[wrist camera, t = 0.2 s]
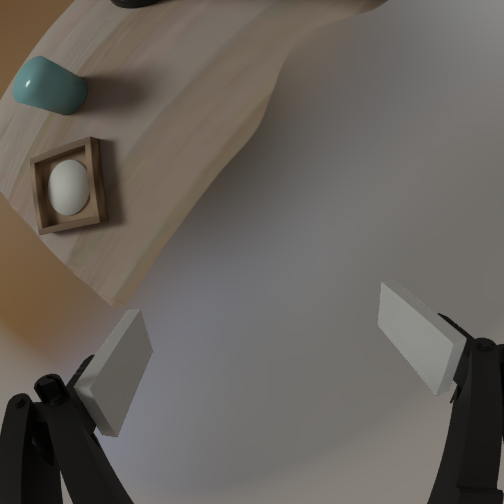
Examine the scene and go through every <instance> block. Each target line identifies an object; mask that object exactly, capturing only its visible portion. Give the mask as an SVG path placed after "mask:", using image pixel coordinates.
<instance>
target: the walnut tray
mask: <svg viewBox="0 0 504 504" xmlns="http://www.w3.org/2000/svg"><path fill="white" fill-rule="evenodd" d="M65 160H76V161H78V162H80V163H81V164H82V165H84V167H85V168H86V170H87V174H88V183H89V191H90V195H89V198H88V201H87V203H86V204H85V206H84V207H83V208H82V209H81V210H80V211H79V212H78V213H76V214H73V215H62V214H60V213H58V212H57V211H56V210H55V209H54V208H53V206H52V205H51V203H50V200H49V196H48V182H49V178H50V175H51V173H52V171H53V170H54V168H55V167H56V166H57V165H58V164H59V163H61V162H63V161H65ZM30 167H31V180H32V190H33V198H34V206H35V212H36V219H37V225H38V230H39V235H44V234H48V233H52V232H57V231H62V230H66V229H71V228H76V227H81V226H85V225H90V224H96V223H100V222H103V221H106V220H108V214H107V208H106V201H105V194H104V186H103V178H102V169H101V159H100V146H99V139H97V138H93V137H87V138H84V139H81V140H78V141H76V142H73V143H70V144H67V145H64V146H62V147H59V148H56V149H54V150H51V151H49V152H46V153H44V154H41V155H39V156H36V157H34V158H32V159H30Z"/></svg>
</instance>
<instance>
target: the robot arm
mask: <svg viewBox="0 0 504 504" xmlns="http://www.w3.org/2000/svg"><path fill="white" fill-rule="evenodd" d="M111 1H112V3H113V4H115V5H116V6H118V7H122V8H138V7H143V6H147V5H150V4H153V3H155V2H158V1H160V0H111ZM378 326H379V327H380V328H381V329H382V330H383V332H384V333H385V334H386V335H387V336H388V338H389V339H390V340H391V341H392V342H393V344H394V345H395V346H396V347H397V348H398V350H399V351H400V352H401V353H402V354H403V356H404V357H405V358H406V359H407V361H408V362H409V363H410V364H411V365H412V366H413V368H414V369H415V370H416V372H417V373H418V374H419V375H420V377H421V378H422V379H423V380H424V382H425V383H426V384H427V385H428V387H429V388H430V389H431V391H432V392H433V393H434V394H435V396H437V395H440V394H442V393H444V392H446V391H449V389H450V386H451V384H452V381H453V380H454V381H455V382H456V384H457V387H456V389H455V392H454V394H453V396H452V399H451V401H450V403H452V402H453V407H452V414H451V419H450V425H449V430H448V435H447V440H446V444H445V448H444V452H443V456H442V460H441V463H440V467H439V470H438V473H437V477H436V480H435V483H434V486H433V489H432V492H431V495H430V497H429V501H428V503H427V504H502V503H503V496H504V493H503V491H502V490H498V489H497V480H498V473H499V466H500V457H501V445H502V437H503V441H504V344H500V345H496V344H495V343H494V342H493V341H492V340H490V339H487V338H477V339H474V338H473V337H472V336H471V335H469V334H468V333H467V332H466V331H465V330H463V329H462V328H461V327H459V326H458V325H457V324H456V323H454V322H453V321H452V320H451V319H449V318H448V317H447V316H444V315H442V314H440V313H438V314H436V313H435V312H434V311H433V310H431V309H430V308H429V307H428V306H426V305H425V304H424V303H423V302H421V301H420V300H419V299H417V298H416V297H415V296H413V295H412V294H411V293H410V292H408V291H407V290H406V289H404V288H403V287H402V286H400V285H399V284H398V283H396V282H395V281H394V280H390V281H384V282H381V296H380V307H379V317H378ZM152 353H153V349H152V346H151V343H150V340H149V336H148V333H147V330H146V326H145V323H144V319H143V316H142V312H141V309H130V310H128V311H127V312H126V313H125V315H124V316H123V317H122V319H121V320H120V321H119V323H118V324H117V325H116V327H115V328H114V330H113V331H112V332H111V334H110V335H109V336H108V338H107V339H106V341H105V342H104V343H103V345H102V346H101V348H100V349H99V350H98V352H97V353H96V355H91V356H89V357H88V358H87V359H85V360H84V361H83V363H82V364H81V365H80V367H79V369H78V370H77V371H76V374H74V375H73V377H72V378H71V380H70V381H69V383H68V384H67V385H66V387H65V385H64V383H63V381H62V379H61V377H60V376H59V375H57V374H48V375H45V376H43V377H41V378H40V379H38V380H37V382H36V383H35V385H34V389H35V391H36V393H37V394H38V396H39V398H40V399H41V401H42V402H32V400H31V399H30V397H29V396H28V395H27V394H25V393H20V394H17V395H15V396H13V397H12V398H11V399H10V400H9V402H8V404H7V408H6V412H5V416H4V420H3V424H2V429H1V434H0V504H63V499H62V491H61V478H60V471H61V474H62V476H63V479H64V482H65V485H66V487H67V490H68V492H69V495H70V498H71V500H72V502H73V504H134V503H133V501H132V500H131V498H130V497H129V495H128V494H127V492H126V491H125V489H124V487H123V486H122V484H121V482H120V481H119V479H118V477H117V476H116V474H115V472H114V470H113V468H112V467H111V465H110V463H109V461H108V459H107V457H106V455H105V453H104V451H103V449H102V448H101V445H100V443H99V441H98V439H97V437H96V436H95V434H94V433H93V432H94V430H95V428H96V426H97V428H98V429H99V431H100V432H101V434H102V435H106V436H112V437H118V435H119V432H120V430H121V427H122V424H123V422H124V419H125V417H126V414H127V412H128V409H129V407H130V404H131V402H132V400H133V397H134V395H135V392H136V390H137V387H138V385H139V383H140V380H141V378H142V375H143V373H144V371H145V369H146V366H147V364H148V362H149V359H150V357H151V354H152ZM453 400H454V401H453Z"/></svg>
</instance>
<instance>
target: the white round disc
mask: <svg viewBox="0 0 504 504" xmlns="http://www.w3.org/2000/svg"><path fill="white" fill-rule="evenodd" d="M89 195H90V191H89V183H88V174H87V170H86V168H85V167H84V165H82V164H81V163H80V162H78V161H76V160H65V161H63V162H61V163H59V164H58V165H57V166H56V167H55V168H54V170H53V171H52V173H51V175H50V178H49V182H48V196H49V200H50V203H51V205H52V206H53V208H54V209H55V210H56V211H57V212H58V213H60V214H62V215H73V214H76V213H78V212H79V211H80V210H81V209H82V208H83V207H84V206H85V204H86V203H87V201H88V198H89Z"/></svg>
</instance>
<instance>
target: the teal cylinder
mask: <svg viewBox="0 0 504 504" xmlns="http://www.w3.org/2000/svg"><path fill="white" fill-rule="evenodd" d="M87 90H88V88H87V83H86V82H85V80H84V79H82V78H80V77H79V76H77V75H75V74H74V73H72V72H70V71H68V70H66V69H65V68H63V67H61V66H59V65H58V64H56V63H54V62H52V61H50V60H48V59H47V58H45V57H43V56H37V57H34V58H32V59H31V60H29V61H28V62H27V63H26V64H25V65H24V66H23V67H22V69H21V70H20V72H19V73H18V75H17V77H16V80H15V83H14V87H13V96H14V98H15V100H16V101H17V102H19V103H23V104H27V105H30V106H34V107H37V108H41V109H44V110H48V111H51V112H55V113H58V114H61V115H70V114H72V113H74V112H76V111H77V110H78V109H79V108H80V107H81V106H82V104H83V103H84V101H85V98H86V96H87Z"/></svg>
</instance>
